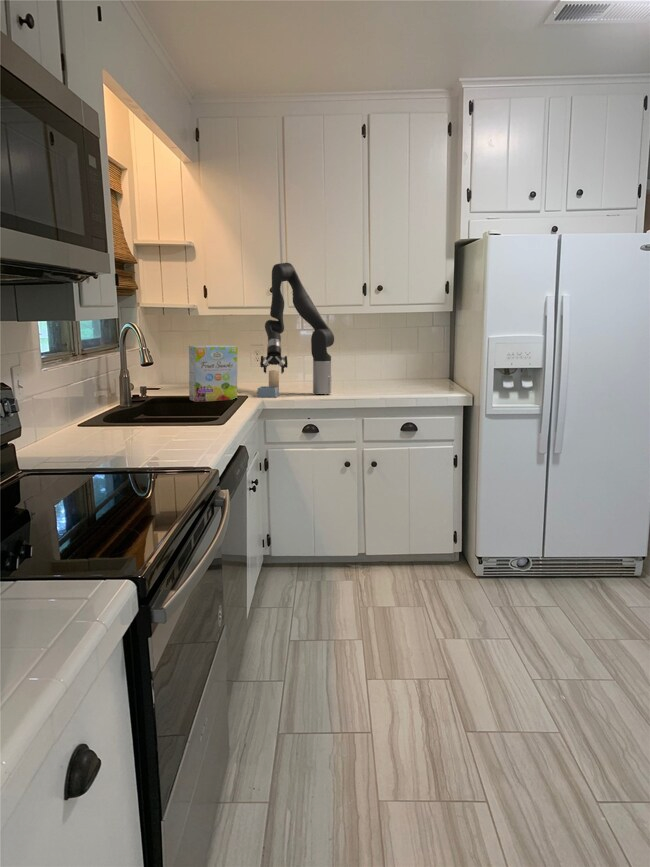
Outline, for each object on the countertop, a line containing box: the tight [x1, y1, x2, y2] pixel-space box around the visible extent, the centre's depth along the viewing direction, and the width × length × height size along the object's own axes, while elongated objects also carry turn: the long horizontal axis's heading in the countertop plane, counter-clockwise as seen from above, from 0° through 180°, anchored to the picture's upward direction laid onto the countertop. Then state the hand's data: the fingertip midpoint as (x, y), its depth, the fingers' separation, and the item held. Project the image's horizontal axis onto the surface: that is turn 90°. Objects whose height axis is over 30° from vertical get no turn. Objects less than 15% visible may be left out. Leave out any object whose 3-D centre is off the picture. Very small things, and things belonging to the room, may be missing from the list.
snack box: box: [188, 344, 238, 403], centre depth 292 cm, size 22×9×26 cm, turn 123°
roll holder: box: [256, 385, 281, 399], centre depth 310 cm, size 10×9×4 cm
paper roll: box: [268, 369, 280, 394], centre depth 318 cm, size 5×5×12 cm
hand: (273, 372), depth 322 cm, fingers open, 8 cm apart
